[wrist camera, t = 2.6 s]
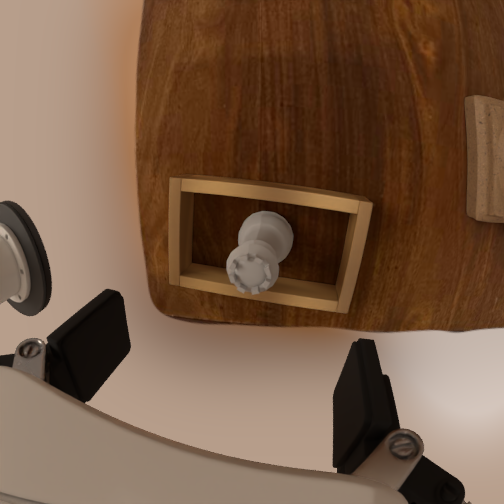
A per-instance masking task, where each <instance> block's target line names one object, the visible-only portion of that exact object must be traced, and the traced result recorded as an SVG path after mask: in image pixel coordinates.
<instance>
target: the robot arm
mask: <svg viewBox="0 0 504 504" xmlns="http://www.w3.org/2000/svg"><path fill="white" fill-rule="evenodd" d="M30 289H31V279H30V272H29V267H28V263H27V260H26V257H25V254H24V251H23V249H22V247H21V244H20V243H19V241H18V239H17V237H16V236H15V234H14V233H13V232H12V230H11V229H10V228H9V227H8V226H6V225H5V224H3V223H0V304H1V303H3V302H4V301H6V300H7V299H9V298H10V299H11V300H13V301H15V302H22V301H24V300H25V299H26V298H28V296H29V294H30ZM47 341H48V343H47V344H46V345H45V343H44V341H42V340H41V339H38V338H30V339H26V340H24V341H22V342H21V343H20V344H19V345H18V346H17V348H16V351H15V354H9V355H1V356H0V504H471V503H470V502H468V503H466V502H465V501H464V497H465V489H464V486H463V484H462V483H461V482H460V481H459V480H458V479H457V478H455V477H454V476H452V475H451V474H449V473H448V472H446V471H445V470H443V469H442V468H441V467H439V466H438V465H436V464H435V463H433V462H432V461H430V460H429V459H428V458H426V457H425V456H423V455H422V454H423V452H424V444H423V441H422V439H421V438H420V436H419V435H418V434H416V433H415V432H413V431H411V430H409V429H400V425H399V420H398V415H397V410H396V405H395V400H394V396H393V392H392V387H391V383H390V379H389V377H388V376H387V375H383V374H382V370H381V367H380V362H379V358H378V354H377V350H376V346H375V342H374V340H370V339H361V338H360V339H358V341H357V342H353V343H352V346H351V349H350V351H349V354H348V356H347V359H346V362H345V364H344V367H343V370H342V372H341V375H340V377H339V380H338V382H337V385H336V387H335V390H334V394H333V467H334V468H337V473H332V472H323V471H316V470H315V471H314V470H305V469H298V468H290V467H283V466H277V465H271V464H265V463H259V462H254V461H249V460H244V459H239V458H235V457H229V456H225V455H222V454H217V453H214V452H210V451H206V450H202V449H199V448H195V447H192V446H188V445H185V444H182V443H179V442H176V441H173V440H170V439H167V438H164V437H161V436H159V435H156V434H153V433H150V432H148V431H145V430H143V429H140V428H137V427H134V426H133V425H130V424H128V423H125V422H123V421H120V420H118V419H116V418H114V417H111V416H109V415H107V414H105V413H103V412H101V411H99V410H97V409H95V408H93V407H91V406H89V405H87V404H85V402H86V401H87V402H88V401H90V400H91V398H92V397H93V396H94V395H95V393H96V392H97V391H98V390H99V388H100V387H101V386H102V385H103V384H104V382H105V381H106V380H107V379H108V377H109V376H110V375H111V374H112V373H113V371H114V370H115V369H116V367H117V366H118V365H119V364H120V363H121V362H122V360H123V359H124V358H125V357H126V355H127V354H128V353H129V351H130V348H131V344H130V339H129V332H128V326H127V320H126V313H125V306H124V299H123V297H122V296H121V294H120V292H118V291H115V290H111V289H106V290H104V291H103V292H102V293H100V294H99V295H98V296H97V297H95V298H94V299H93V300H92V301H90V302H89V303H88V304H86V305H85V306H84V307H83V308H81V309H80V310H79V311H78V312H77V313H75V314H74V315H73V316H72V317H71V318H69V319H68V320H67V321H66V322H64V323H63V324H62V325H61V326H60V327H58V328H57V329H56V330H55V331H54V332H52V333H51V334H50V335H49V336H48V337H47Z"/></svg>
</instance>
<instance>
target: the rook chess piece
mask: <svg viewBox="0 0 504 504" xmlns="http://www.w3.org/2000/svg"><path fill="white" fill-rule="evenodd" d="M292 243H293V233H292V229H291V226H290V225H289V223H288V222H287V221H286V220H285V218H284V217H282V216H280V215H278V214H277V213H275V212H269V211H261V212H257V213H254V214H252V215H251V216H249V217H248V218H247V219H246V220H245V221H244V223H243V225H242V227H241V229H240V231H239V235H238V244H239V246H238V247H237V248H236V249H235V250H233V251H232V252H231V254H230V255H229V257H228V259H227V268H226V270H227V273H228V276H229V279H230V282H231V284H232V283H234V285H235V286H236V287H238V288H237V290H238V291H240V292H242V293H243V294H244V292H252V295H254V294H259V293H260V292H263V291H266V290H267V289H269V288H270V287H272V286H273V285H274V283H275V282H276V280H277V278H278V274H279V266H278V263H279V262H281V261H282V260H284V259H285V258H286V257H287V255H288V253H289V252H290V250H291V247H292Z"/></svg>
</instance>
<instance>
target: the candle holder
mask: <svg viewBox="0 0 504 504" xmlns="http://www.w3.org/2000/svg"><path fill="white" fill-rule="evenodd" d="M464 103H465V118H466V132H467V158H468V174H467V209H466V212H467V215H468V216H470V217H472V218H474V219H476V220H478V221H484V222H493V223H504V101H501V100H498V99H494V98H491V97H486V96H480V95H474V96H469V97H465V101H464Z"/></svg>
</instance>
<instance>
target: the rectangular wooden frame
mask: <svg viewBox="0 0 504 504" xmlns="http://www.w3.org/2000/svg"><path fill="white" fill-rule="evenodd" d="M194 192H195V193H206V194H215V195H225V196H234V197H242V198H251V199H259V200H266V201H274V202H282V203H289V204H296V205H303V206H309V207H316V208H323V209H329V210H335V211H341V212H347V213H350V217H349V223H348V228H347V233H346V239H345V244H344V249H343V253H342V258H341V263H340V267H339V272H338V276H337V281H336V285H331V284H324V283H317V282H310V281H304V280H297V279H290V278H284V277H278V278H277V280H276V282H275V283H274V285H273V286H272V287H270V288H269V289H267V290H266V291H263V292H260V293H259V294H254V295H252V292H244V294H243V293H242V292H240V291H238V290H237V288H238V287H236V286H235V285H234V283H232V284H231V282H230V279H229V276H228V273H227V270H226V268H221V267H215V266H209V265H203V264H197V263H192V240H193V210H194ZM372 207H373V203H372V202H371V201H370V200H368V199H367V198H366V197H365V196H359V195H353V194H348V193H342V192H336V191H330V190H324V189H317V188H311V187H304V186H297V185H289V184H282V183H274V182H266V181H257V180H248V179H239V178H229V177H218V176H207V175H194V174H182V175H178V176H174V177H170V184H169V284H171V285H176V286H182V287H187V288H192V289H197V290H202V291H208V292H213V293H219V294H224V295H230V296H235V297H241V298H247V299H253V300H259V301H265V302H271V303H277V304H284V305H290V306H297V307H304V308H311V309H318V310H325V311H332V312H339V313H348V310H349V306H350V303H351V299H352V296H353V292H354V288H355V284H356V280H357V276H358V272H359V268H360V264H361V260H362V256H363V251H364V247H365V242H366V237H367V233H368V228H369V223H370V218H371V212H372Z"/></svg>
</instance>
